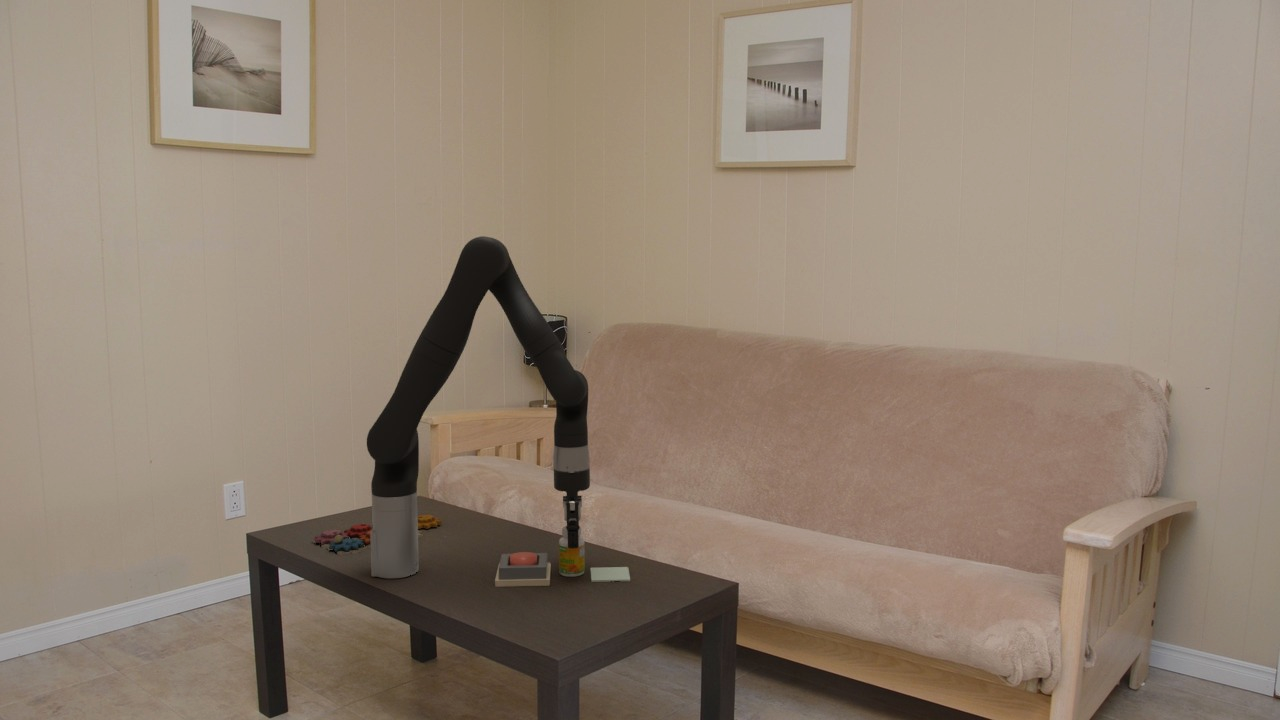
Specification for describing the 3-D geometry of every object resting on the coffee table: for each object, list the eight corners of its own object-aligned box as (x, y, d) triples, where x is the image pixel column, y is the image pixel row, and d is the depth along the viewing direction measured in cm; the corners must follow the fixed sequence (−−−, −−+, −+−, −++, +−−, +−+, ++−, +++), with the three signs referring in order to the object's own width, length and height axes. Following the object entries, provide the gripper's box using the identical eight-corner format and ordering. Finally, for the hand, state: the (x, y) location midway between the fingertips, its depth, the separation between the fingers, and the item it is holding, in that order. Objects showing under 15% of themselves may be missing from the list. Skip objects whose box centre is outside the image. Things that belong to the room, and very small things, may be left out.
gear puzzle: (424, 519, 246) (424, 503, 245) (459, 532, 234) (459, 516, 234) (308, 544, 224) (307, 527, 224) (340, 559, 213) (340, 542, 212)
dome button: (509, 574, 197) (509, 560, 196) (510, 566, 202) (510, 552, 202) (536, 574, 197) (536, 559, 197) (537, 565, 203) (537, 551, 202)
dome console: (495, 586, 194) (494, 569, 194) (499, 569, 205) (498, 552, 204) (549, 585, 195) (549, 568, 194) (550, 568, 206) (550, 551, 205)
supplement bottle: (554, 575, 201) (554, 530, 200) (566, 567, 206) (565, 523, 205) (577, 578, 199) (577, 532, 198) (588, 570, 204) (588, 526, 203)
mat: (591, 582, 197) (591, 580, 197) (590, 569, 205) (590, 567, 205) (630, 581, 197) (630, 579, 197) (627, 568, 205) (627, 567, 205)
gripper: (554, 459, 207) (555, 532, 209) (553, 474, 193) (554, 552, 195) (588, 458, 207) (590, 531, 209) (590, 473, 193) (591, 551, 195)
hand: (573, 541), depth 202 cm, fingers open, 8 cm apart
